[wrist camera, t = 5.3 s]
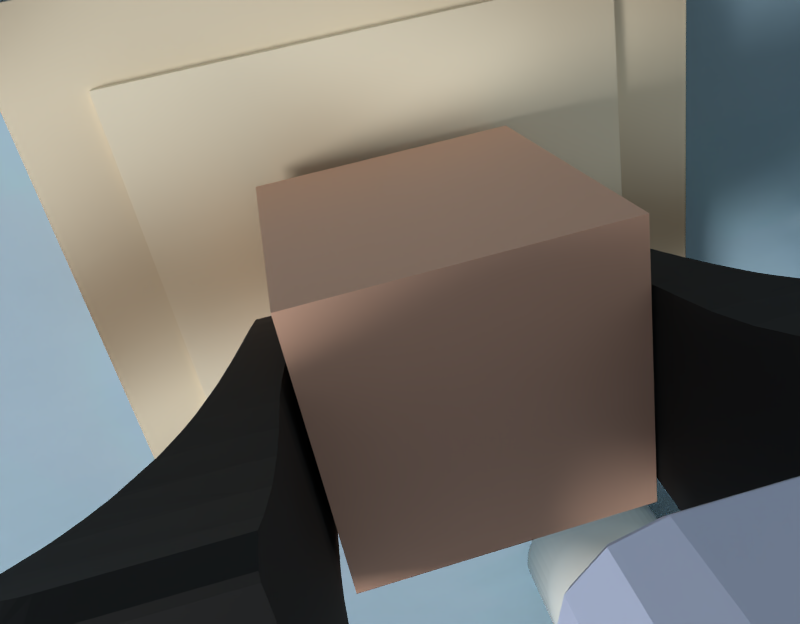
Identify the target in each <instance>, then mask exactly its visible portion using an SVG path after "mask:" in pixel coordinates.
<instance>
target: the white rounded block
mask: <svg viewBox="0 0 800 624" xmlns="http://www.w3.org/2000/svg"><path fill="white" fill-rule="evenodd" d="M656 519H657V517H656V516H655V514H654V513H653V512H652V510H651V509H650V508H649V507H648V505H645V506H641V507H638V508H635V509H632V510H628V511H625V512H622V513H619V514H615V515H612V516H609V517H606V518H602V519H599V520H596V521H593V522H589V523H586V524H583V525H579V526H576V527H573V528H570V529H566V530H563V531H560V532H557V533H553V534H550V535H547V536H544V537H540V538H537V539H534V540H533V541H532V543H531V545H530V549H529V553H528V567H529V572H530V574H531V576H532V578H533V580H534V583H535V585H536V587H537V589H538V591H539V593H540V596H541V598H542V600H543V602H544V604H545V606H546V609H547V611H548V613H549V615H550V617H551V619H552V621H553V624H557V623H558V619H559V615H560V610H561V606H562V602H563V597H564V594H565V593H566V591H567V590H568V588H569V587H570V586H571V584H572V583H573V582H574V581H575V580H576V579H577V578H578V577H579V576H580V574H581V573H582V572H583V571H584V570H585V569H586V568H587V567H588V566H589V564H590V563H591V562H592V561H593V560H594V559H595V558H596V557H597V556H598V554H599V553H600V552H601V551H602V550H603V549H604V548H605V547H606V546H607V544H609V543H611V542H613V541H615V540H617V539H619V538H621V537H623V536H625V535H627V534H629V533H631V532H633V531H635V530H637V529H639V528H641V527H643V526H645V525H647V524H649V523H650V522H652V521H654V520H656Z"/></svg>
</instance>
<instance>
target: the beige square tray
mask: <svg viewBox="0 0 800 624" xmlns="http://www.w3.org/2000/svg"><path fill="white" fill-rule="evenodd" d="M0 112H1V114H2V116H3V118H4V121H5V123H6V125H7V127H8V130H9V132H10V134H11V136H12V139H13V141H14V143H15V145H16V148H17V150H18V152H19V154H20V157H21V159H22V161H23V163H24V166H25V168H26V170H27V172H28V175H29V177H30V179H31V181H32V184H33V186H34V188H35V190H36V193H37V195H38V197H39V199H40V202H41V204H42V206H43V208H44V211H45V213H46V215H47V217H48V220H49V222H50V224H51V226H52V229H53V231H54V233H55V235H56V238H57V240H58V242H59V244H60V247H61V249H62V251H63V254H64V256H65V258H66V260H67V263H68V265H69V267H70V269H71V272H72V274H73V276H74V278H75V281H76V283H77V285H78V287H79V290H80V292H81V294H82V296H83V299H84V301H85V303H86V305H87V308H88V310H89V312H90V314H91V317H92V319H93V321H94V323H95V326H96V328H97V330H98V332H99V335H100V337H101V339H102V341H103V344H104V346H105V348H106V350H107V353H108V355H109V357H110V359H111V362H112V364H113V366H114V368H115V371H116V373H117V375H118V377H119V380H120V382H121V384H122V386H123V389H124V391H125V393H126V395H127V398H128V400H129V402H130V404H131V407H132V409H133V411H134V413H135V416H136V418H137V420H138V422H139V425H140V427H141V429H142V431H143V434H144V436H145V438H146V440H147V443H148V445H149V447H150V449H151V452H152V454H153V456H154V458H155V459H156V458H157V457H158V456H159V455H160V454H161V453H162V452H163V451H164V450H165V449H166V447H167V446H168V445H169V444H170V443H171V442H172V441H173V440H174V439H175V438H176V437H177V436H178V435H179V433H180V432H181V431H182V430H183V429H184V428H185V427H186V425H187V424H188V423H189V422H190V421H191V419H192V418H193V417H194V416H195V414H196V413H197V412H198V410H199V409H200V408H201V406H202V405H203V403H204V402H205V401H206V399H207V398H208V396H209V395H210V394H211V392H212V391H213V390H214V388H215V387H216V385H217V384H218V382H219V381H220V379H221V377H222V376H223V374H224V373H225V371H226V369H227V368H228V366H229V364H230V363H231V361H232V359H233V358H234V356H235V354H236V352H237V351H238V349H239V347H240V345H241V344H242V342H243V340H244V338H245V336H246V335H247V333H248V331H249V329H250V328H251V326H252V325H253V323H254V321H255V320H256V319H260V318H264V317H268V316H271V312H270V304H269V295H268V287H267V279H266V270H265V262H264V253H263V245H262V237H261V228H260V220H259V211H258V203H257V195H256V187H257V186H261V185H265V184H269V183H273V182H277V181H282V180H286V179H290V178H294V177H298V176H302V175H306V174H310V173H314V172H318V171H322V170H326V169H330V168H335V167H339V166H343V165H347V164H351V163H355V162H359V161H363V160H367V159H371V158H375V157H379V156H383V155H387V154H392V153H396V152H400V151H404V150H408V149H412V148H416V147H420V146H424V145H428V144H432V143H436V142H440V141H444V140H449V139H453V138H457V137H461V136H465V135H469V134H473V133H477V132H481V131H485V130H489V129H493V128H497V127H502V126H507V127H509V128H511V129H512V130H514V131H516V132H517V133H519V134H521V135H522V136H524V137H525V138H527V139H529V140H530V141H532V142H534V143H535V144H537V145H538V146H540V147H542V148H543V149H545V150H547V151H548V152H550V153H552V154H553V155H555V156H556V157H558V158H560V159H561V160H563V161H565V162H566V163H568V164H569V165H571V166H573V167H574V168H576V169H578V170H579V171H581V172H583V173H584V174H586V175H587V176H589V177H591V178H592V179H594V180H596V181H597V182H599V183H601V184H602V185H604V186H605V187H607V188H609V189H610V190H612V191H614V192H615V193H617V194H618V195H620V196H622V197H623V198H625V199H627V200H628V201H630V202H632V203H633V204H635V205H636V206H638V207H640V208H641V209H643V210H645V211H646V212H648V213H649V224H650V249H654V250H658V251H662V252H666V253H670V254H673V255H677V256H681V257H685V211H686V0H7V1H2V2H0Z"/></svg>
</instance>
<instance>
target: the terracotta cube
mask: <svg viewBox="0 0 800 624" xmlns="http://www.w3.org/2000/svg"><path fill="white" fill-rule="evenodd" d="M256 195H257V203H258V211H259V220H260V228H261V237H262V245H263V253H264V262H265V270H266V279H267V287H268V295H269V304H270V312H271V316H272V319H273V323H274V326H275V329H276V332H277V336H278V339H279V342H280V345H281V349H282V352H283V355H284V358H285V362H286V365H287V368H288V371H289V375H290V378H291V381H292V384H293V388H294V391H295V394H296V397H297V401H298V404H299V407H300V410H301V414H302V417H303V420H304V423H305V427H306V430H307V433H308V436H309V440H310V443H311V446H312V449H313V453H314V456H315V459H316V462H317V466H318V469H319V472H320V475H321V479H322V482H323V485H324V488H325V492H326V495H327V498H328V501H329V505H330V508H331V511H332V514H333V518H334V521H335V524H336V527H337V531H338V534H339V537H340V540H341V544H342V547H343V550H344V553H345V557H346V560H347V563H348V566H349V570H350V573H351V576H352V579H353V583H354V586H355V589H356V592H357V594H358V593H361V592H364V591H367V590H371V589H374V588H377V587H381V586H384V585H387V584H390V583H394V582H397V581H400V580H403V579H407V578H410V577H413V576H416V575H420V574H423V573H426V572H429V571H433V570H436V569H439V568H442V567H446V566H449V565H452V564H456V563H459V562H462V561H465V560H469V559H472V558H475V557H478V556H482V555H485V554H488V553H491V552H495V551H498V550H501V549H504V548H508V547H511V546H514V545H518V544H521V543H524V542H527V541H531V540H534V539H537V538H540V537H544V536H547V535H550V534H553V533H557V532H560V531H563V530H566V529H570V528H573V527H576V526H579V525H583V524H586V523H589V522H593V521H596V520H599V519H602V518H606V517H609V516H612V515H615V514H619V513H622V512H625V511H628V510H632V509H635V508H638V507H641V506H645V505H648V504H651V503H654V502H657V478H656V442H655V405H654V369H653V333H652V296H651V260H650V224H649V213H648V212H646V211H645V210H643V209H641V208H640V207H638V206H636V205H635V204H633V203H632V202H630V201H628V200H627V199H625V198H623V197H622V196H620V195H618V194H617V193H615V192H614V191H612V190H610V189H609V188H607V187H605V186H604V185H602V184H601V183H599V182H597V181H596V180H594V179H592V178H591V177H589V176H587V175H586V174H584V173H583V172H581V171H579V170H578V169H576V168H574V167H573V166H571V165H569V164H568V163H566V162H565V161H563V160H561V159H560V158H558V157H556V156H555V155H553V154H552V153H550V152H548V151H547V150H545V149H543V148H542V147H540V146H538V145H537V144H535V143H534V142H532V141H530V140H529V139H527V138H525V137H524V136H522V135H521V134H519V133H517V132H516V131H514V130H512V129H511V128H509V127H507V126H502V127H497V128H493V129H489V130H485V131H481V132H477V133H473V134H469V135H465V136H461V137H457V138H453V139H449V140H444V141H440V142H436V143H432V144H428V145H424V146H420V147H416V148H412V149H408V150H404V151H400V152H396V153H392V154H387V155H383V156H379V157H375V158H371V159H367V160H363V161H359V162H355V163H351V164H347V165H343V166H339V167H335V168H330V169H326V170H322V171H318V172H314V173H310V174H306V175H302V176H298V177H294V178H290V179H286V180H282V181H277V182H273V183H269V184H265V185H261V186H257V187H256Z"/></svg>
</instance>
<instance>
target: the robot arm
mask: <svg viewBox="0 0 800 624" xmlns="http://www.w3.org/2000/svg"><path fill="white" fill-rule="evenodd" d="M650 260H651V296H652V333H653V369H654V405H655V442H656V477H657V479H658V480H659V481H660V482H661V484H662V485H663V487H664V488H665V489H666V491H667V492H668V493H669V495H670V496H671V497H672V499H673V500H674V502H675V503H676V505H677V506H678V508H679V509H680V511H679V512H676V513H672V514H669V515H665V516H662V517H660V518H658V519H656V520H654V521H652V522H650V523H649V524H647V525H645V526H643V527H641V528H639V529H637V530H635V531H633V532H631V533H629V534H627V535H625V536H623V537H621V538H619V539H617V540H615V541H613V542H611V543H609V544H607V546H606V547H605V548H604V549H603V550H602V551H601V552H600V553H599V554H598V556H597V557H596V558H595V559H594V560H593V561H592V562H591V563H590V564H589V566H588V567H587V568H586V569H585V570H584V571H583V572H582V573H581V574H580V576H579V577H578V578H577V579H576V580H575V581H574V582H573V583H572V584H571V586H570V587H569V588H568V590H567V591H566V593H565V594H564V597H563V602H562V606H561V610H560V615H559V619H558V623H557V624H800V278H792V277H784V276H776V275H769V274H763V273H757V272H751V271H745V270H740V269H735V268H730V267H726V266H721V265H716V264H711V263H707V262H702V261H698V260H694V259H689V258H685V257H681V256H677V255H673V254H670V253H666V252H662V251H658V250H654V249H650ZM0 624H349V623H348V618H347V612H346V607H345V601H344V594H343V586H342V578H341V569H340V555H339V542H338V531H337V527H336V524H335V521H334V518H333V514H332V511H331V508H330V505H329V501H328V498H327V495H326V492H325V488H324V485H323V482H322V479H321V475H320V472H319V469H318V466H317V462H316V459H315V456H314V453H313V449H312V446H311V443H310V440H309V436H308V433H307V430H306V427H305V423H304V420H303V417H302V414H301V410H300V407H299V404H298V401H297V397H296V394H295V391H294V388H293V384H292V381H291V378H290V375H289V371H288V368H287V365H286V362H285V358H284V355H283V352H282V349H281V345H280V342H279V339H278V336H277V332H276V329H275V326H274V323H273V319H272V316H268V317H264V318H260V319H256V320H255V321H254V323H253V325H252V326H251V328H250V329H249V331H248V333H247V335H246V336H245V338H244V340H243V342H242V344H241V345H240V347H239V349H238V351H237V352H236V354H235V356H234V358H233V359H232V361H231V363H230V364H229V366H228V368H227V369H226V371H225V373H224V374H223V376H222V377H221V379H220V381H219V382H218V384H217V385H216V387H215V388H214V390H213V391H212V392H211V394H210V395H209V396H208V398H207V399H206V401H205V402H204V403H203V405H202V406H201V408H200V409H199V410H198V412H197V413H196V414H195V416H194V417H193V418H192V419H191V421H190V422H189V423H188V424H187V425H186V427H185V428H184V429H183V430H182V431H181V432H180V433H179V435H178V436H177V437H176V438H175V439H174V440H173V441H172V442H171V443H170V444H169V445H168V446H167V447H166V449H165V450H164V451H163V452H162V453H161V454H160V455H159V456H158V457H157V458H156V459H155V460H154V461H153V462H151V463H150V464H149V465H148V466H147V467H146V468H145V469H144V470H143V471H141V472H140V473H139V474H138V475H137V476H136V477H135V478H134V479H133V480H131V481H130V482H129V483H128V484H127V485H126V486H125V487H124V488H122V489H121V490H120V491H119V492H118V493H117V494H116V495H115V496H113V497H112V498H111V499H110V500H108V501H107V502H106V503H105V504H103V505H102V506H101V507H99V508H98V509H97V510H96V511H94V512H93V513H92V514H90V515H89V516H88V517H87V518H85V519H84V520H82V521H81V522H80V523H78V524H77V525H75V526H74V527H73V528H71V529H70V530H68V531H67V532H66V533H64V534H63V535H61V536H60V537H58V538H57V539H56V540H54V541H53V542H51V543H50V544H48V545H47V546H45V547H44V548H42V549H40V550H39V551H37V552H36V553H34V554H32V555H31V556H29V557H27V558H26V559H24V560H23V561H21V562H19V563H18V564H16V565H14V566H13V567H11V568H9V569H8V570H6V571H5V572H3V573H1V574H0Z"/></svg>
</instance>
